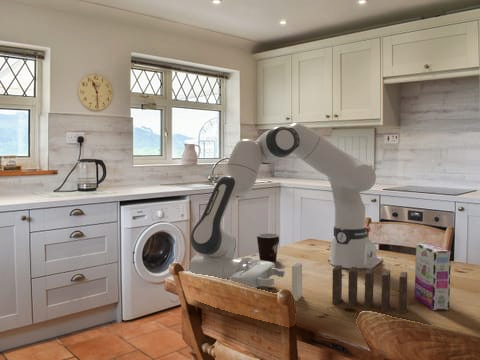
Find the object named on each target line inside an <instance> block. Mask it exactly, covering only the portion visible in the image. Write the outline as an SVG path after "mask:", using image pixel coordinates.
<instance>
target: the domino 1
mask: <svg viewBox="0 0 480 360" xmlns="http://www.w3.org/2000/svg"><path fill="white" fill-rule="evenodd" d="M342 286H343V268H342V266H340V265H336V266H334V267H333V269H332V287H331V288H332V292H331V294H332V298H331V299H332V301H331V302H332V305H339V304H340V302H341V301H342V299H343V297H342V296H343V293H342V291H343V289H342V288H343V287H342Z"/></svg>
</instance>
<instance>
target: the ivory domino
mask: <svg viewBox="0 0 480 360" xmlns="http://www.w3.org/2000/svg"><path fill="white" fill-rule="evenodd" d="M292 294H293V296H294V299H295V301H294V302H298V301H299V300H300V299H301V298H302V297H303V262H296V263H294V264H293V265H292V266H291V295H292ZM299 298H300V299H299Z"/></svg>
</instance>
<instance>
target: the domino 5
mask: <svg viewBox="0 0 480 360" xmlns="http://www.w3.org/2000/svg"><path fill="white" fill-rule="evenodd" d="M398 284H399V285H398V287H399V288H398V289H399V290H398V295H399V296H398V314H403V315H406V312H407V307H408V303H407V302H408V272H406V271H401V272H400V274H399V282H398Z"/></svg>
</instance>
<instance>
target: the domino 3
mask: <svg viewBox="0 0 480 360" xmlns="http://www.w3.org/2000/svg"><path fill="white" fill-rule="evenodd" d="M374 269H375V268H366V271H364V309H369V310H372V307H373V305H374V286H375V285H374V284H375V282H374V280H375V279H374V274H375V270H374Z"/></svg>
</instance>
